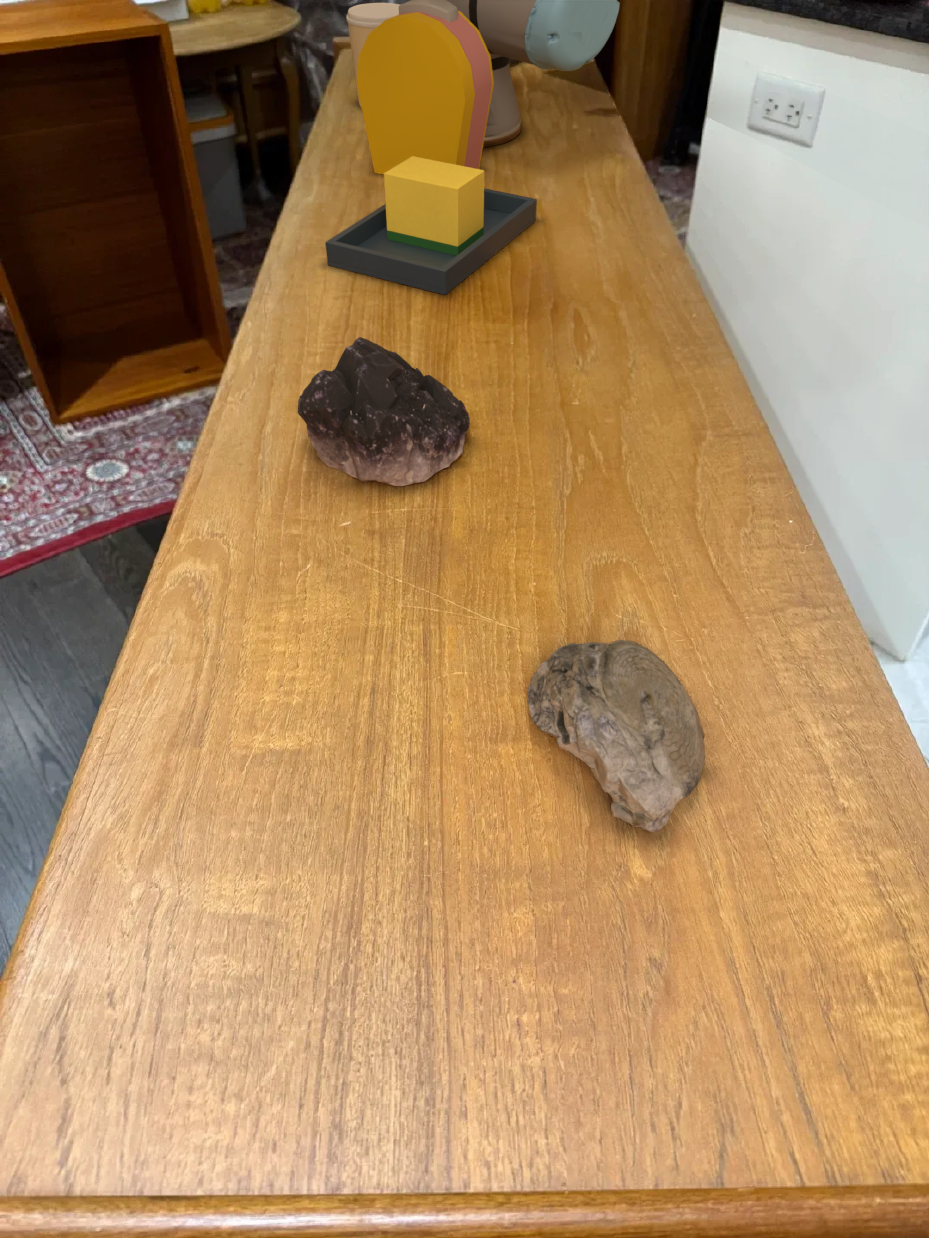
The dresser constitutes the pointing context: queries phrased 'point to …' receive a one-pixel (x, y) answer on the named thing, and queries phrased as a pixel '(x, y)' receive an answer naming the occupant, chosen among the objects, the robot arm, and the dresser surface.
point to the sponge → (434, 205)
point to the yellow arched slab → (425, 87)
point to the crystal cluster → (382, 417)
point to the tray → (424, 267)
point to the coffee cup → (366, 25)
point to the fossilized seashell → (622, 725)
